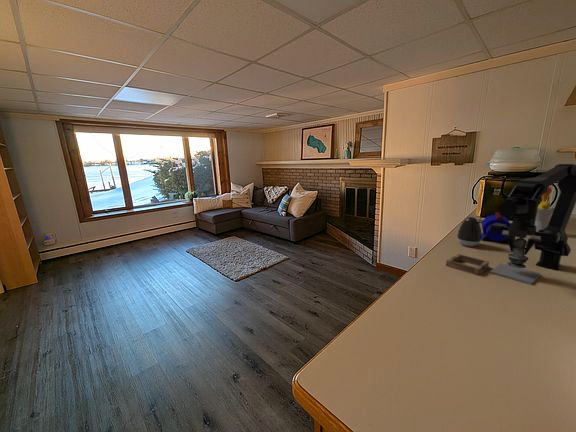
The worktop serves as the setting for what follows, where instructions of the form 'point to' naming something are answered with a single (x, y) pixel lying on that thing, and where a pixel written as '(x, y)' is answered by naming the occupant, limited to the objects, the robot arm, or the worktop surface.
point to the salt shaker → (518, 254)
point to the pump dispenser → (470, 232)
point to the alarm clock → (490, 221)
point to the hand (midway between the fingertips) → (518, 253)
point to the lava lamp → (543, 211)
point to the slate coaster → (515, 273)
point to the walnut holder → (454, 264)
